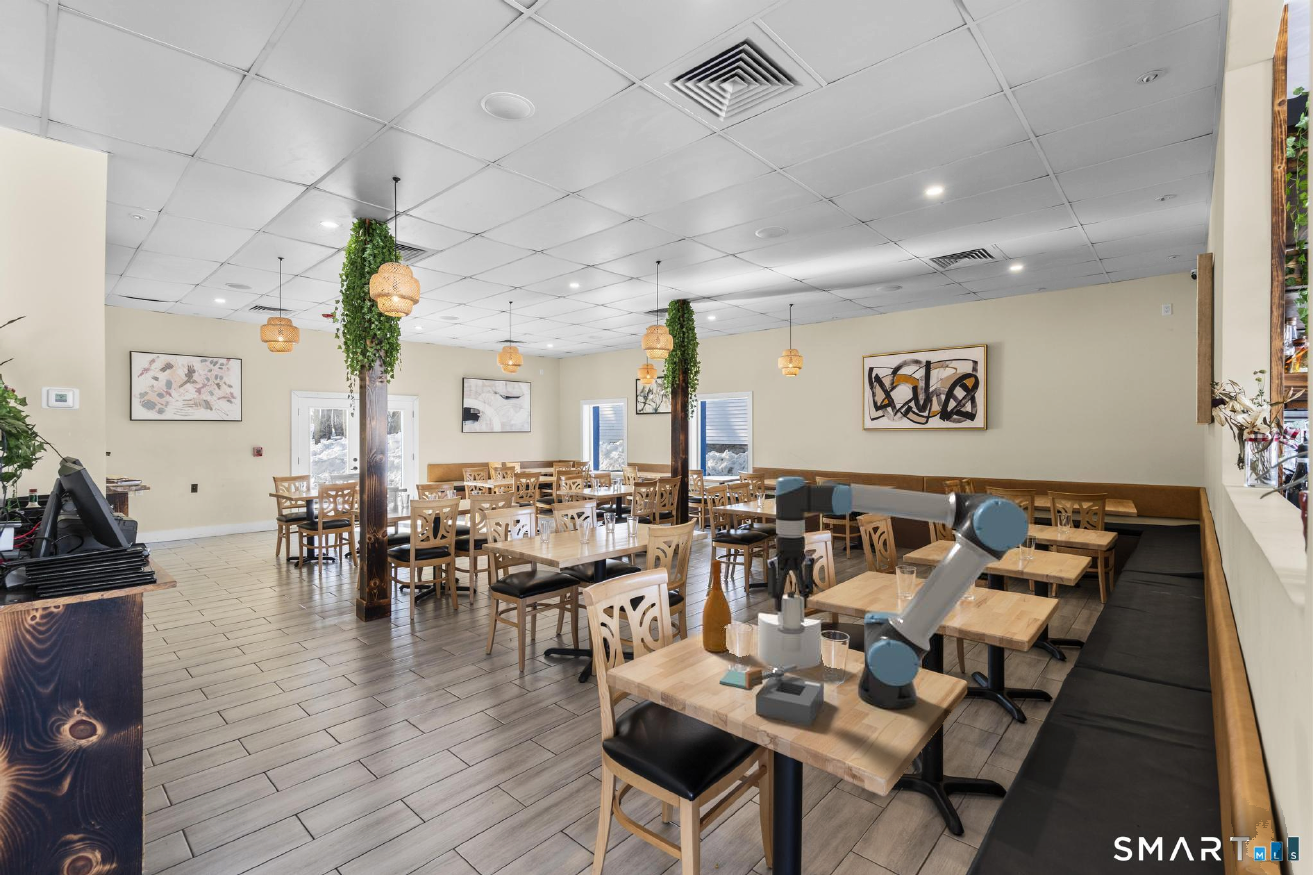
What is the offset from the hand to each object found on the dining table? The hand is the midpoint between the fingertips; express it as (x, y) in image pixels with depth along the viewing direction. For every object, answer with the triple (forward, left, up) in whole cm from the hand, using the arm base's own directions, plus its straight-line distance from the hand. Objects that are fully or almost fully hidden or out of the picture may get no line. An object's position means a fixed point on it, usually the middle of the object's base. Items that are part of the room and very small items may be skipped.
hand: (791, 622), depth 162 cm
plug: (0, 0, -7) cm, 7 cm away
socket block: (0, 0, -23) cm, 23 cm away
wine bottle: (+34, -32, -23) cm, 52 cm away
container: (+10, -35, -23) cm, 43 cm away
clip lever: (+6, -2, -17) cm, 18 cm away
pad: (+18, -10, -23) cm, 31 cm away
